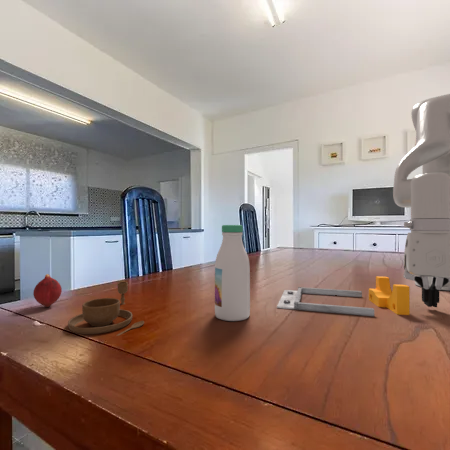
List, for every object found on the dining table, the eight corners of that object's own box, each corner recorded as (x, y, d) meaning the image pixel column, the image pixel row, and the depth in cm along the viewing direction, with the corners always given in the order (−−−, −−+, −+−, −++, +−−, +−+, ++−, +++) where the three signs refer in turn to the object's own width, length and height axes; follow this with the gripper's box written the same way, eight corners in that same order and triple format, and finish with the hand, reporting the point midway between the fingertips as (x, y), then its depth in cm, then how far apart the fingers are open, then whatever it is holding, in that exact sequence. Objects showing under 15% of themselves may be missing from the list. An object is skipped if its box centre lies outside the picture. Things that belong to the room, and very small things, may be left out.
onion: (66, 305, 70) (66, 273, 70) (43, 311, 65) (43, 277, 65) (51, 302, 72) (51, 271, 72) (28, 308, 67) (28, 275, 67)
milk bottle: (253, 312, 64) (253, 224, 64) (244, 323, 56) (244, 224, 56) (221, 309, 66) (221, 224, 66) (209, 319, 59) (209, 224, 59)
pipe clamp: (368, 300, 74) (368, 276, 74) (386, 301, 74) (386, 276, 74) (388, 314, 63) (388, 285, 63) (409, 315, 62) (409, 286, 62)
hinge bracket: (284, 291, 84) (284, 286, 84) (361, 296, 78) (361, 291, 78) (276, 307, 67) (276, 301, 67) (374, 316, 61) (374, 309, 61)
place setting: (43, 329, 55) (44, 299, 55) (121, 303, 73) (121, 281, 73) (108, 345, 48) (108, 310, 48) (176, 312, 66) (176, 287, 66)
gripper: (398, 226, 64) (398, 307, 64) (478, 226, 59) (478, 313, 59) (389, 226, 71) (389, 299, 71) (460, 226, 67) (461, 303, 67)
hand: (430, 305), depth 65 cm, fingers closed
